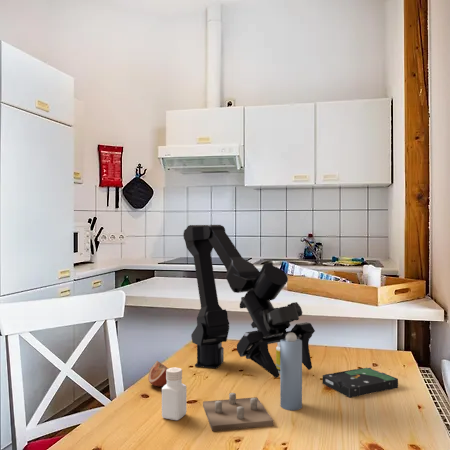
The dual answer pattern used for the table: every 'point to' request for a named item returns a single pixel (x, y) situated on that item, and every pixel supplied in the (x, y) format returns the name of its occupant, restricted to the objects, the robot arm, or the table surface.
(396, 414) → the table surface
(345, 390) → the disk drive
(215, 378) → the table surface
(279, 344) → the supplement bottle
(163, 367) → the fruit slice
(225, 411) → the brown pegged base plate
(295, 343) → the pepper mill
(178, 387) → the white plastic bottle
